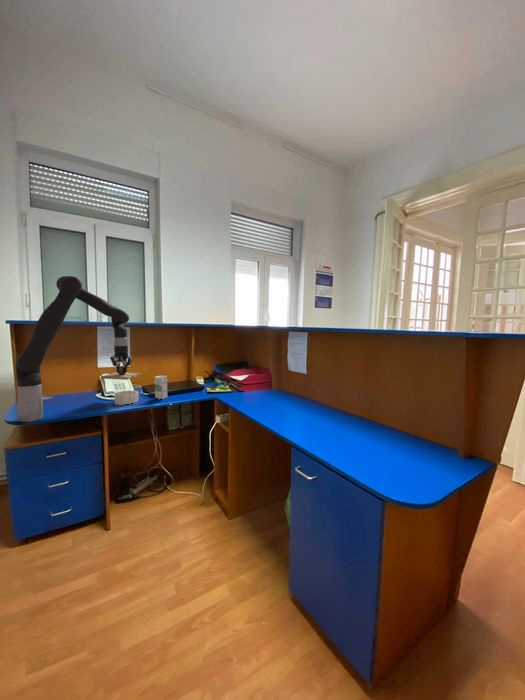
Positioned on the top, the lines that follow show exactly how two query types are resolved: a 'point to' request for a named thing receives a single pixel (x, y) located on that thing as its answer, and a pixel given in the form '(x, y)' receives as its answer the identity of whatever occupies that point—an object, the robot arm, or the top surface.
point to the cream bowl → (126, 397)
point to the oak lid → (120, 375)
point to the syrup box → (160, 387)
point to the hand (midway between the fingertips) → (121, 373)
